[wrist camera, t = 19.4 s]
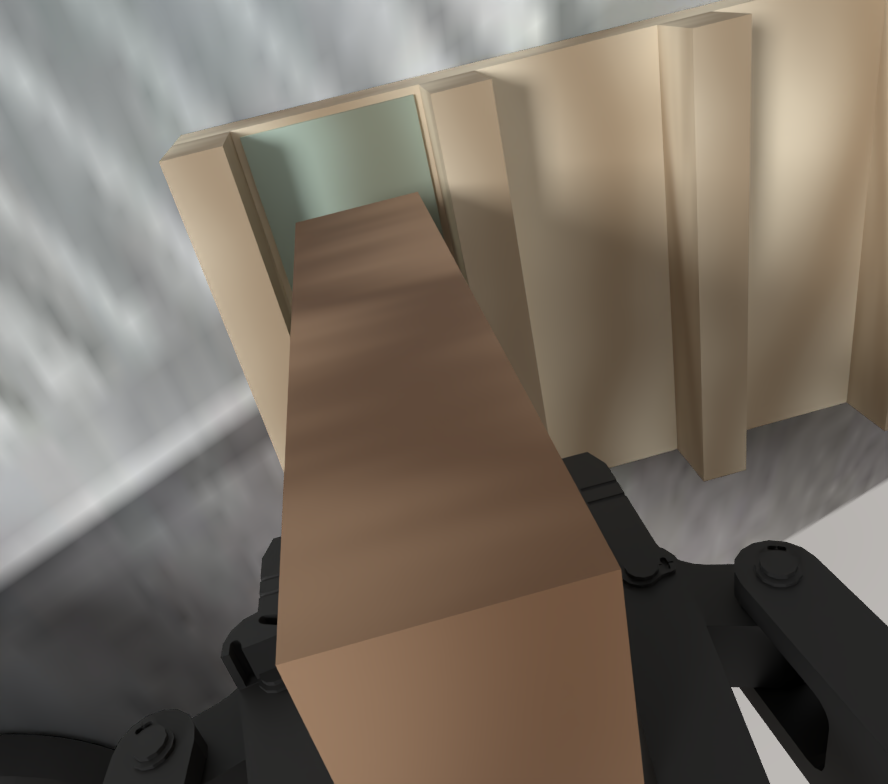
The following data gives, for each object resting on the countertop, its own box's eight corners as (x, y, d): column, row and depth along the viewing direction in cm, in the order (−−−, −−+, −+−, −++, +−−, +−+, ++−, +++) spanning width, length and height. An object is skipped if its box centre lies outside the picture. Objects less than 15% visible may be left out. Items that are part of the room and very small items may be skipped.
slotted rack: (326, 518, 27) (330, 599, 23) (180, 135, 20) (154, 167, 16) (858, 372, 28) (938, 428, 24) (901, -44, 21) (1024, -51, 17)
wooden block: (393, 533, 22) (481, 1085, 11) (293, 223, 17) (269, 667, 6) (490, 506, 22) (674, 1026, 11) (419, 191, 17) (626, 567, 6)
